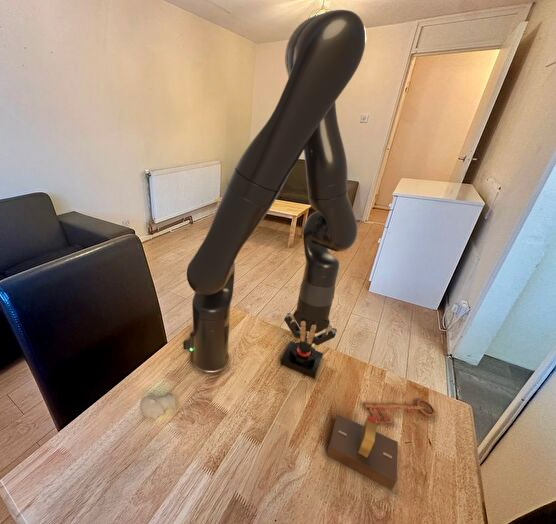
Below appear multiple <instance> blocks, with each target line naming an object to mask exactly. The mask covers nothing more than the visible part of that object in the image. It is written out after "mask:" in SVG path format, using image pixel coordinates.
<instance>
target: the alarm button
mask: <svg viewBox="0 0 556 524" xmlns="http://www.w3.org/2000/svg"><path fill="white" fill-rule="evenodd" d="M296 352H297V353H298V354H299V355H301V356H303V357H308V356H310V354H311V351H310V352H309V353H306V354H304V353H302V352H301V350H299V346H298V347H297V350H296Z"/></svg>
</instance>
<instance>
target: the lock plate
mask: <svg viewBox="0 0 556 524" xmlns="http://www.w3.org/2000/svg"><path fill="white" fill-rule="evenodd" d="M363 426H364V424H363V425H362V424H360V423H358V422H356V421H354V420H352V419H349V418H348V417H346V416H344V415H341V414H339V413H337V414H336V417H335V420H334V424H333V426H332V427H333V428H332V432H331V436H330V441H329V444H328V449H327V453H326V456H327V457H329V458H331V459H333V460H335V461H336V462H338V463H340V464H342V465H344V466H346V467H347V468H350V469H351V470H353V471H355V472H356V473H359V474H360V475H362V476H364V477H366V478H368V479H370V480H372V481H373V482H375V483H377V484H379V485H381V486H382V487H385V488H386V489H388V490H390V491H393V488H394V487H395V485H396V483H397V482H398V481H397V480H398V448H399V442H398V441H397V440H394V439H392V438H390V437H389V436H386V435H385V434H383V433H380V432H377V431H376V434H375V442H374V444H373V446H372V449H371V451H370V453H369V455H368V457H365V456H363V455H361V454H359V453H358V449H359V443H360V436H361V431H362V428H363Z"/></svg>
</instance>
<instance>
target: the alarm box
mask: <svg viewBox="0 0 556 524" xmlns="http://www.w3.org/2000/svg"><path fill="white" fill-rule="evenodd" d="M299 344H300V341H298V342H297V341H296V342H294V341H292V340H290V341H289V343H288V344H287V346H286V348H285V351H284V353H283V355H282V356H281V359H280V365H281V366H284V367H286V368H287V369H290V370H293V371H295V372H297V373H299V374H302V375H304V376H307V377H309V378H311V379H314V380H315V379H316V376H317V374H318V372H319V368H320V366H321V362H322V360H323V357H324V352H321V351H318V350H316V349H315V347H313V346H312V347H311V350H310V351H311V354H310V356H308V357H303V356H301V355H299V354H298V353H297V352H296V350H297V347H298V346H299Z"/></svg>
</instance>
